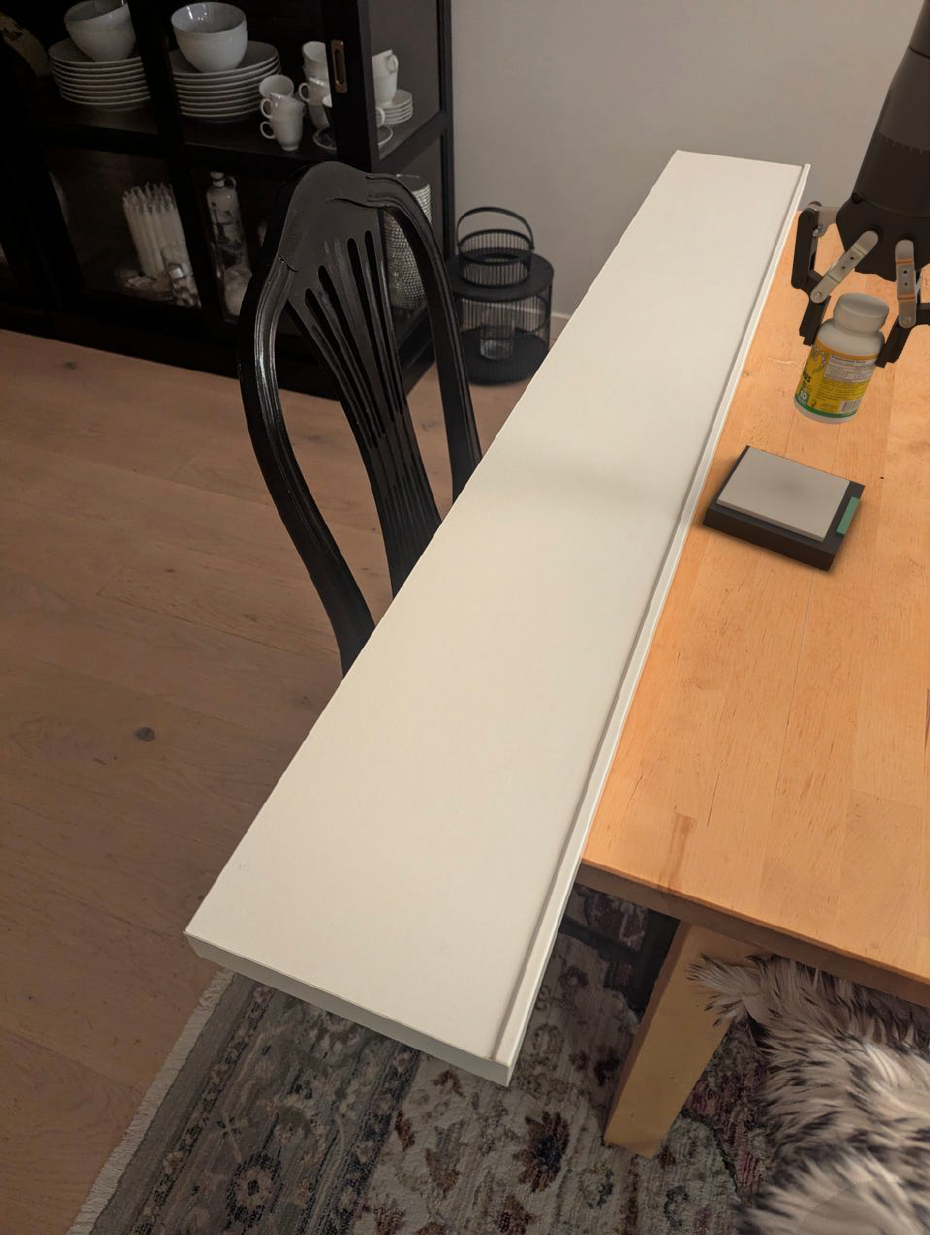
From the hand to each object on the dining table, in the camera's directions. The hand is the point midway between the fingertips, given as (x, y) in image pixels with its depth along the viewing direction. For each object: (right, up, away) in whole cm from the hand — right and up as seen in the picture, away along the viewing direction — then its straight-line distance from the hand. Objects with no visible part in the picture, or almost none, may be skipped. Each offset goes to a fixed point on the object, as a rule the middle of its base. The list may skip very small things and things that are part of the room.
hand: (845, 351), depth 73 cm
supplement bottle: (0, -4, +4) cm, 6 cm away
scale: (-1, -12, +12) cm, 17 cm away
